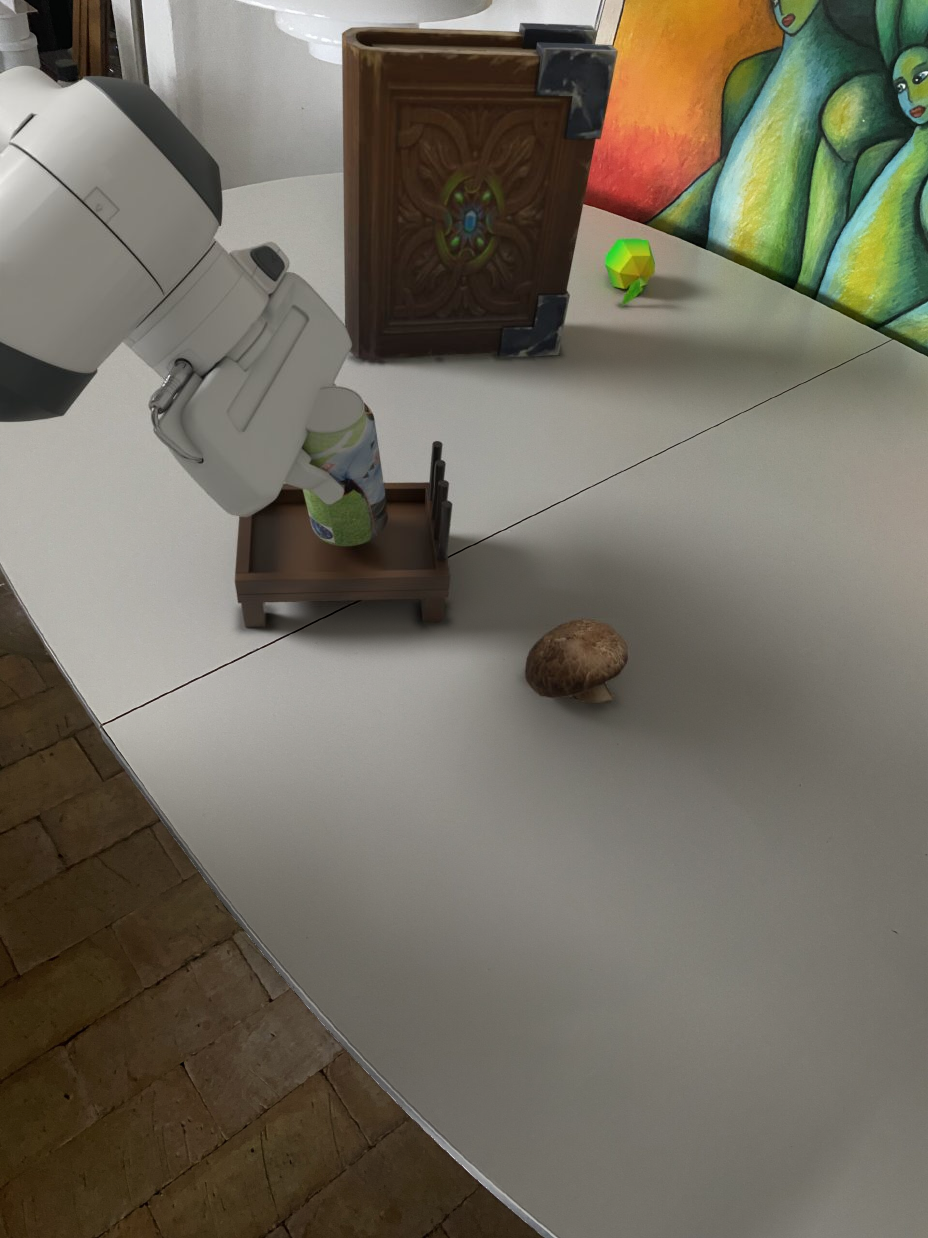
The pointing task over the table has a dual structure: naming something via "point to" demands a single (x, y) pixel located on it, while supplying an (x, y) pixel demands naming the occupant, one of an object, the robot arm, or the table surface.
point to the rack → (348, 552)
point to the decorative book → (466, 184)
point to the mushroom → (577, 661)
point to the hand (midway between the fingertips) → (350, 469)
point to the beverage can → (346, 468)
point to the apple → (630, 266)
